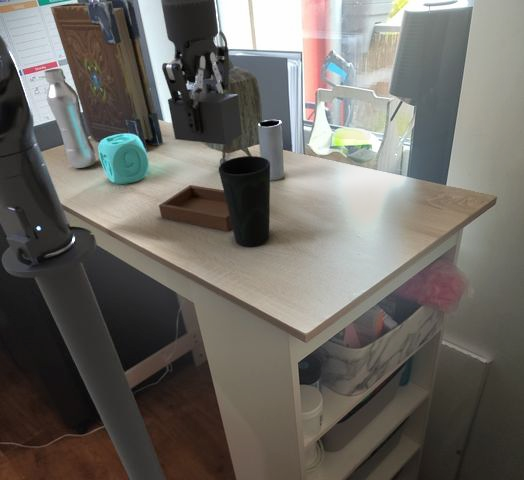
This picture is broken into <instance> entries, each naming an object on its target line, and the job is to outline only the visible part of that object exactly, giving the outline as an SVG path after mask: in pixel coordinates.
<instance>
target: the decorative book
mask: <svg viewBox="0 0 524 480" xmlns="http://www.w3.org/2000/svg"><path fill="white" fill-rule="evenodd" d="M133 1H134V0H105V1H89V2H75V3H73V2H71V3H65V4H60V5H53V6H50V10H51V13H52V16H53V21H54V23H55V27H56V30H57V33H58V37H59V39H60V42H61V46H62V49H63V52H64V55H65V59H66V61H67V64H68V68H69V71H70V74H71V78H72V81H73V83H74V87H75V92H76V93H77V95H78V99H79V104H80V108H81V109H82V113H83V117H84V118H85V123H86V126H87V129H88V132H89V135H90V138H91V139H92V140H96V141H100V142H101V140H103V139H104V138H106V137H109V136H112V135H117V134H126V133H128V134H135V135H136V136H138V137H139V139H140V140H141V142H142V143H143V145H144V148H145V150H146V152H147V151H148V148H147V144H149V145H153V146H157V147H159V146H162V145H164V139H163V134H162V131H161V126H160V122H159V117H158V112H156V111H155V106H154V102H153V97H152V96H153V95H152V92H151V88H150V83H149V79H148V74H147V69H146V65H145V60H144V56H143V51H142V47H141V43H140V39H141V33H140V29H139V25H138V19H137V15H136V11H135V5H134V2H133Z"/></svg>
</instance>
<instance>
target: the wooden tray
mask: <svg viewBox="0 0 524 480" xmlns="http://www.w3.org/2000/svg"><path fill="white" fill-rule="evenodd" d="M158 208H159V213H160V216H161V219H165V220H170V221H173V222H179V223H184V224H190V225H195V226H200V227H205V228H210V229H215V230H220V231H225V232H229V231H230V230H231V229H233V228H232V224H231V219H230V215H229V211H228V207H227V203H226V199H225V194H224V190H223V189H220V188H219V189H218V188H212V187H206V186H199V185H192V184H190V185H188V186H186V187H185V188H183V189H182V190H180V191H179V192H177V193H175V194H174V195H172V196H171V197H170V198H168V199H166V200H165V201H164V202H162V203H160V204H158Z"/></svg>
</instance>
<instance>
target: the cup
mask: <svg viewBox="0 0 524 480" xmlns="http://www.w3.org/2000/svg"><path fill="white" fill-rule="evenodd" d="M226 160H227V159H226ZM218 172H219V177H220V182H221V186H222V190H224V194H225V199H226V203H227V207H228V211H229V215H230V219H231V224H232V228H231V229H232V231H233V236H234V240H235V243H236V244H237V245H239V246H241V247H244V248H255V247H259V246H262V245H264V244H266V243H267V242H268V241H269V239H270V214H271V213H270V211H271V210H270V208H271V207H270V205H271V180H270V162H269V161H268V160H267V159H265V158H262V157H261V156H256V155H252V156H248V155H245V156H244V155H243V156H238V157H234V158H230V159H228V160H227V161H225V162H224V163H222V164H220V165H219V166H218Z"/></svg>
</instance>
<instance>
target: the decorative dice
mask: <svg viewBox="0 0 524 480" xmlns="http://www.w3.org/2000/svg"><path fill="white" fill-rule="evenodd" d="M97 152H98V153H97V154H98V157H99V160H100V163H101V166H102V169H103V171H104V173H105V175H106V177H107V178H108V179H109V181H110V182H112V183H113V184H117V185H128V184H133V183H136V182H139V181H141V180H143V179H144V178H146V176H147V174H148V173H149V170H150V162H149V157H148V154H147V151H146V150H145V148H144V145H143V143H142V142H141V140H140V139H139V137H138V136H136V135H135V134H128V133H126V134H117V135H112V136H109V137H106V138H104V139H103V140H101V141H100V142H99V143H98V146H97Z"/></svg>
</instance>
